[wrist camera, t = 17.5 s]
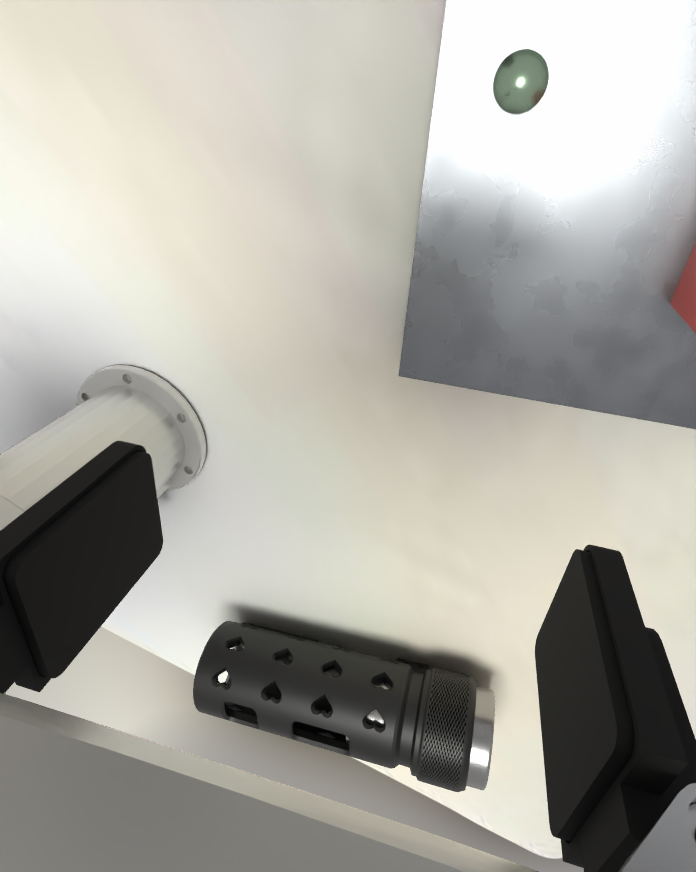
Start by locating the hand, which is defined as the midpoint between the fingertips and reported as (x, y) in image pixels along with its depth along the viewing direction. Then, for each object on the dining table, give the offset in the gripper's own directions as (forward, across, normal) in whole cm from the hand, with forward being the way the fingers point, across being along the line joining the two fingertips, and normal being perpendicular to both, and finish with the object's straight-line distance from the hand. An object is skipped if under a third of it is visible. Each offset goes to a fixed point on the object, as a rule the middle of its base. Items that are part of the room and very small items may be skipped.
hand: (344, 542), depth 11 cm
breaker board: (+25, -9, -4) cm, 27 cm away
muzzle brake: (+27, +2, +40) cm, 48 cm away
